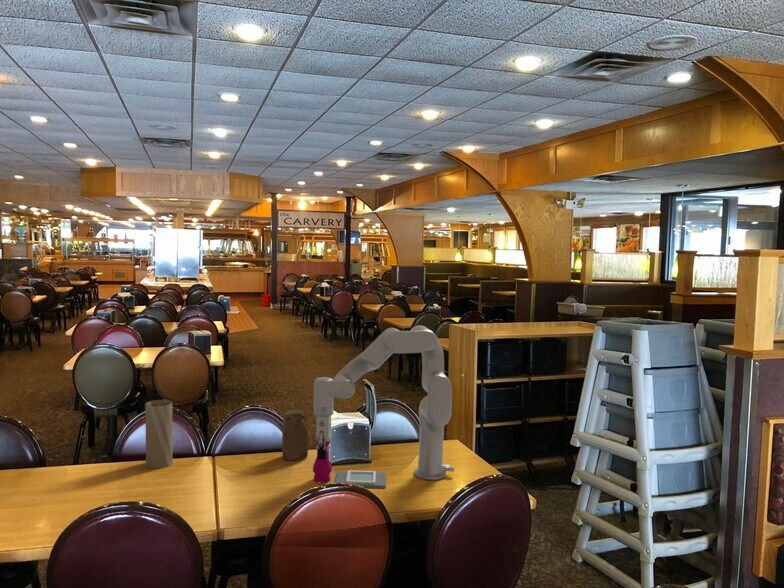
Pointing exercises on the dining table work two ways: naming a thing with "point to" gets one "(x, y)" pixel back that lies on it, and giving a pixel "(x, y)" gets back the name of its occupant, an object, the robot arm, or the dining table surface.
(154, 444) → the tube
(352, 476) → the grey panel
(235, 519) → the dining table surface
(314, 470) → the pepper mill
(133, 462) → the dining table surface
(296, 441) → the block
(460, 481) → the dining table surface
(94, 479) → the dining table surface
